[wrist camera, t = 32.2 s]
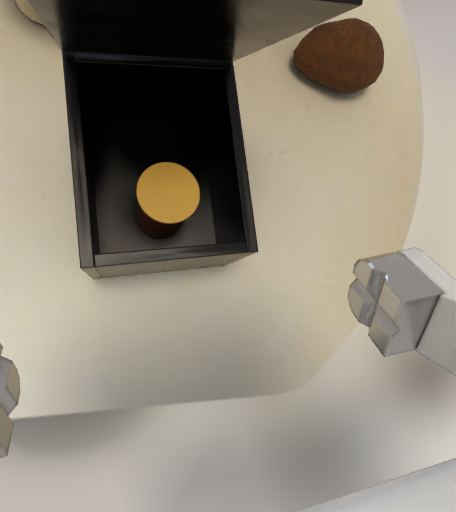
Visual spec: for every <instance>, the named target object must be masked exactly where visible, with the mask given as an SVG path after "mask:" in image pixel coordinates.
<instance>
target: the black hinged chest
mask: <svg viewBox="0 0 456 512" xmlns="http://www.w3.org/2000/svg"><path fill="white" fill-rule="evenodd" d="M62 57H63V68H64V80H65V92H66V104H67V116H68V127H69V139H70V151H71V163H72V175H73V187H74V198H75V210H76V222H77V234H78V246H79V257H80V268H81V269H82V270H83V271H84V272H86V273H87V274H88V275H89V276H90V277H91V278H93V279H97V278H107V277H117V276H127V275H136V274H146V273H156V272H165V271H175V270H185V269H195V268H204V267H214V266H224V265H227V264H229V263H232V262H234V261H237V260H239V259H242V258H244V257H246V256H249V255H251V254H254V253H256V252H258V246H257V238H256V231H255V223H254V216H253V208H252V201H251V193H250V186H249V179H248V171H247V164H246V156H245V149H244V141H243V134H242V126H241V119H240V111H239V104H238V96H237V89H236V81H235V74H234V66H233V61H224V60H207V59H190V58H172V57H155V56H138V55H121V54H104V53H87V52H70V51H62ZM161 162H171V163H176V164H179V165H181V166H183V167H184V168H186V169H187V170H189V171H190V172H191V173H192V175H193V176H194V177H195V179H196V181H197V183H198V186H199V190H200V200H199V204H198V206H197V208H196V210H195V211H194V213H193V214H192V215H191V216H190V217H189V218H188V219H186V220H185V221H184V223H183V224H182V225H181V227H180V228H179V230H178V231H177V232H176V233H175V234H174V235H172V236H171V237H168V238H165V239H156V238H152V237H150V236H148V235H146V234H145V233H144V232H143V231H142V230H141V229H140V227H139V226H138V223H137V219H136V212H137V204H138V200H137V195H136V189H137V183H138V180H139V178H140V176H141V175H142V173H143V172H144V171H145V170H146V169H147V168H149V167H150V166H152V165H154V164H157V163H161Z"/></svg>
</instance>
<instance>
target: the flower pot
mask: <svg viewBox="0 0 456 512" xmlns="http://www.w3.org/2000/svg"><path fill="white" fill-rule="evenodd" d="M15 2H16V4H17V6H18V7H19V9H20V10H21V11H22V12H23V14H24V15H25V16H27V17H28V18H29V19H30V20H33V21H36V22H38V23H41V24H43V23H42V21H41V20H40V18H39V17H38V16H37V14H36V13H35V11H34V10H33V8H32V7H31V5H30V4H29V2H28V1H27V0H15ZM43 25H44V24H43Z"/></svg>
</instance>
